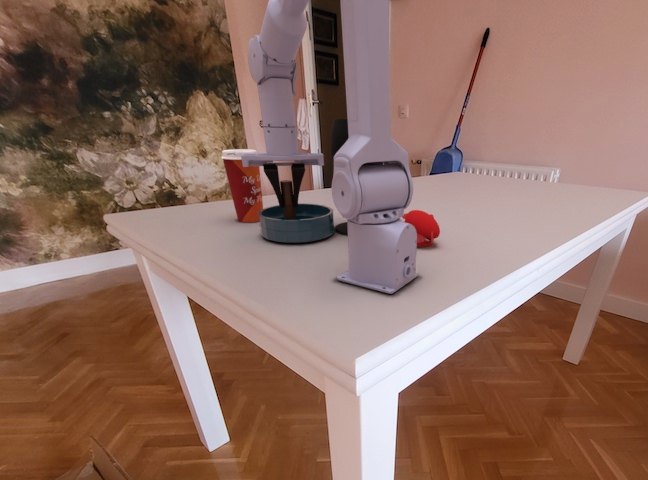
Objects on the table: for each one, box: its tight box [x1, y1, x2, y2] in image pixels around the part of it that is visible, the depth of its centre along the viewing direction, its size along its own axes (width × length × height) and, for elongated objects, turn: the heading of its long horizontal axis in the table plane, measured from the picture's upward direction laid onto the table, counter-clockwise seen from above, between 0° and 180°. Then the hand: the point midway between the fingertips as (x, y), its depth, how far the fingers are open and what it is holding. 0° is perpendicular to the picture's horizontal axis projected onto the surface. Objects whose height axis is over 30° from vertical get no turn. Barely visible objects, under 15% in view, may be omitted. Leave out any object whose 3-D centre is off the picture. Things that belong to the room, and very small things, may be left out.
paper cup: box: [220, 148, 264, 223], centre depth 82 cm, size 8×8×14 cm
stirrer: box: [279, 179, 296, 220], centre depth 74 cm, size 4×4×9 cm
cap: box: [401, 209, 441, 248], centre depth 70 cm, size 8×6×6 cm
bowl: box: [258, 202, 335, 244], centre depth 75 cm, size 14×14×4 cm
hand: (289, 206), depth 74 cm, fingers closed on stirrer, 2 cm apart
